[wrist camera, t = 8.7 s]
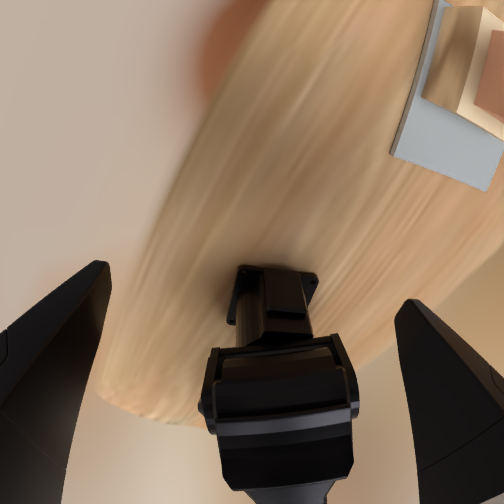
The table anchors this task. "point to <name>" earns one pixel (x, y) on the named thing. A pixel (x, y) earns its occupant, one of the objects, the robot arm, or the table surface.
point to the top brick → (493, 79)
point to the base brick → (462, 65)
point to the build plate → (443, 129)
